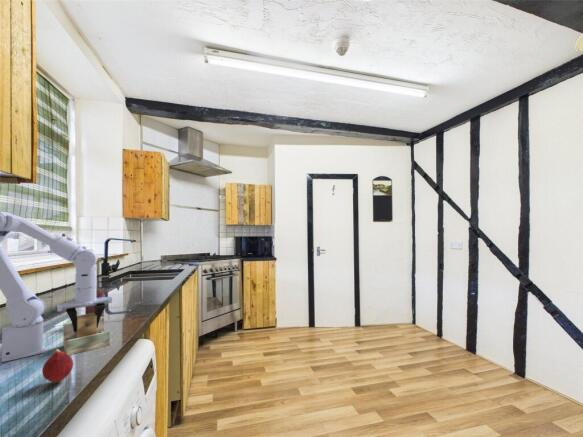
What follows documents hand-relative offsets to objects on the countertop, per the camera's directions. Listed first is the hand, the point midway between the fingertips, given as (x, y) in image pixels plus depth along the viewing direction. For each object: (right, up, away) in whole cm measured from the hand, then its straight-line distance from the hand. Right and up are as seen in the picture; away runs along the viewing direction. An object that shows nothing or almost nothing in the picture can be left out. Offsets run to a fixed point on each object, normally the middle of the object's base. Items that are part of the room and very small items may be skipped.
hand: (85, 329), depth 96 cm
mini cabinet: (0, -2, 0) cm, 2 cm away
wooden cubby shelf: (+1, -5, -1) cm, 5 cm away
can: (-11, -6, +20) cm, 24 cm away
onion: (+10, -4, -24) cm, 27 cm away
